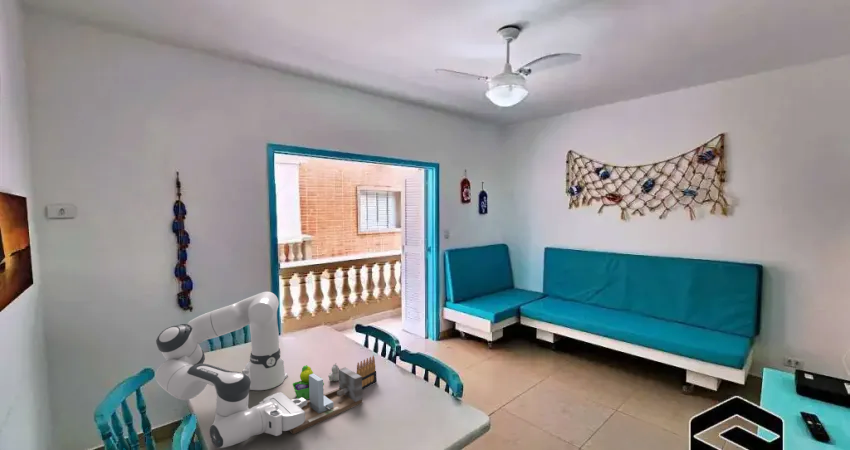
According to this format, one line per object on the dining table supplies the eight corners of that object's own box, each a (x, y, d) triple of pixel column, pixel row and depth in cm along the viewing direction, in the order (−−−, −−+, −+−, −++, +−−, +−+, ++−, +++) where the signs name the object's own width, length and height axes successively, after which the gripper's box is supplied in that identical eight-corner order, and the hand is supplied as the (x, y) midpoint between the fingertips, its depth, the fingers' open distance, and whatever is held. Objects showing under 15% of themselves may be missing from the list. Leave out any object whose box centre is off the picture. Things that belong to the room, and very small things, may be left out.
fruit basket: (295, 403, 143) (294, 375, 143) (292, 393, 151) (291, 366, 151) (324, 396, 148) (324, 369, 148) (320, 387, 156) (319, 361, 156)
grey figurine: (344, 379, 163) (344, 361, 163) (333, 385, 158) (333, 367, 157) (335, 376, 166) (335, 359, 166) (324, 382, 160) (324, 364, 160)
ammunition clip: (358, 392, 152) (358, 363, 151) (355, 390, 153) (354, 362, 152) (376, 382, 160) (376, 355, 160) (373, 380, 161) (373, 354, 161)
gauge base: (278, 419, 132) (277, 391, 132) (345, 392, 152) (345, 367, 151) (293, 434, 124) (292, 403, 123) (362, 402, 143) (361, 376, 143)
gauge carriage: (309, 406, 138) (308, 375, 137) (324, 400, 142) (323, 370, 142) (322, 416, 131) (321, 383, 131) (337, 409, 135) (336, 378, 135)
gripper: (255, 413, 131) (292, 398, 140) (279, 438, 116) (319, 420, 126) (254, 395, 130) (292, 382, 140) (278, 419, 116) (318, 402, 125)
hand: (305, 400), depth 133 cm, fingers closed
